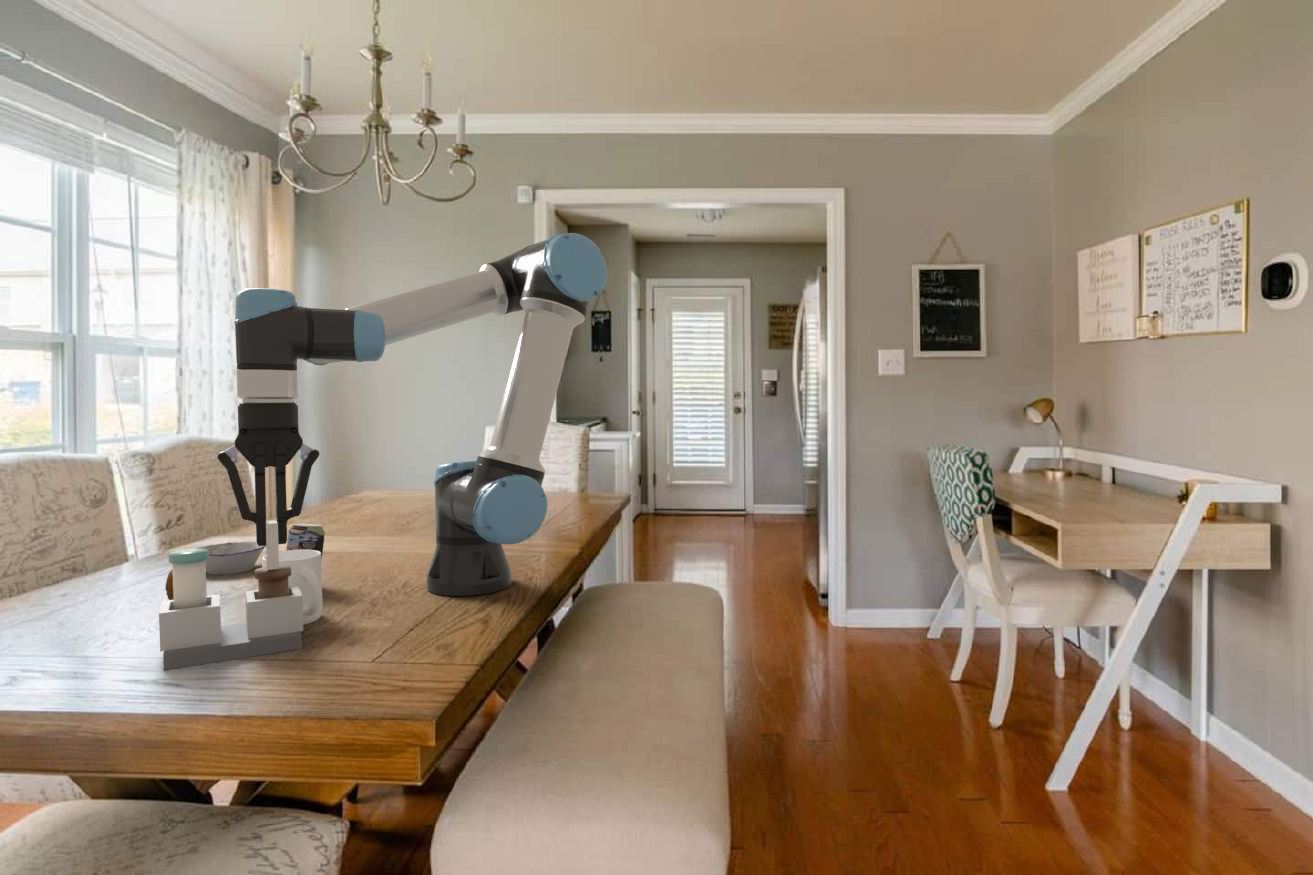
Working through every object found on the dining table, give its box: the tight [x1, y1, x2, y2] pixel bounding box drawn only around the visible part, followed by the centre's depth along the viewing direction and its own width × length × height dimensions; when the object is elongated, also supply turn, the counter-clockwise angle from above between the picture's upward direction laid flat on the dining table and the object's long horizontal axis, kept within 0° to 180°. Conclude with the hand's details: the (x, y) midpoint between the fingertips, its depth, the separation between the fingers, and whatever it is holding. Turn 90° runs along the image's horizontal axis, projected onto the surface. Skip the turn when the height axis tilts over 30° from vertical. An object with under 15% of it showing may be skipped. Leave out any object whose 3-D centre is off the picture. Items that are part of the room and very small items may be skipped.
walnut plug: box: [254, 565, 291, 599], centre depth 106 cm, size 5×5×8 cm
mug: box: [261, 550, 323, 626], centre depth 115 cm, size 12×8×10 cm
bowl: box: [195, 541, 266, 576], centre depth 150 cm, size 13×13×5 cm
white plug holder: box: [158, 585, 304, 671], centre depth 103 cm, size 17×10×7 cm, turn 121°
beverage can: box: [285, 522, 326, 562], centre depth 135 cm, size 6×7×12 cm
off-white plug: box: [167, 548, 209, 610], centre depth 100 cm, size 5×5×8 cm
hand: (272, 567), depth 105 cm, fingers closed
